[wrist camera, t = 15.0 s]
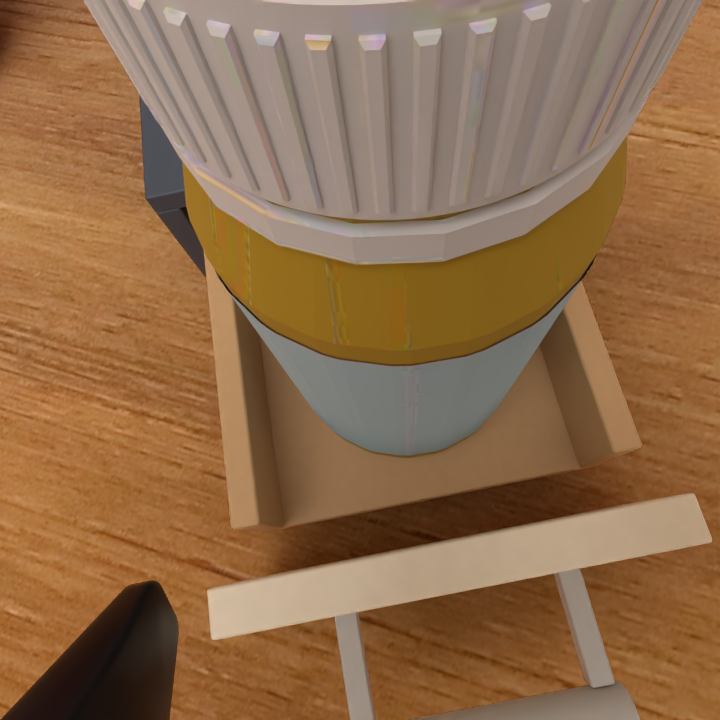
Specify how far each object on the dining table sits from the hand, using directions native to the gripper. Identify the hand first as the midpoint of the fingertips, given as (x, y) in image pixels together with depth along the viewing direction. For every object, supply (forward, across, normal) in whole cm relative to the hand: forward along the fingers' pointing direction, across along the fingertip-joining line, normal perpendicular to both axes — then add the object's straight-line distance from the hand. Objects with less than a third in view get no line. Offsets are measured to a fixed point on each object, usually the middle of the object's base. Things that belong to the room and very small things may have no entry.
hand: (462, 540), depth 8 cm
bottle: (+11, 0, +2) cm, 11 cm away
